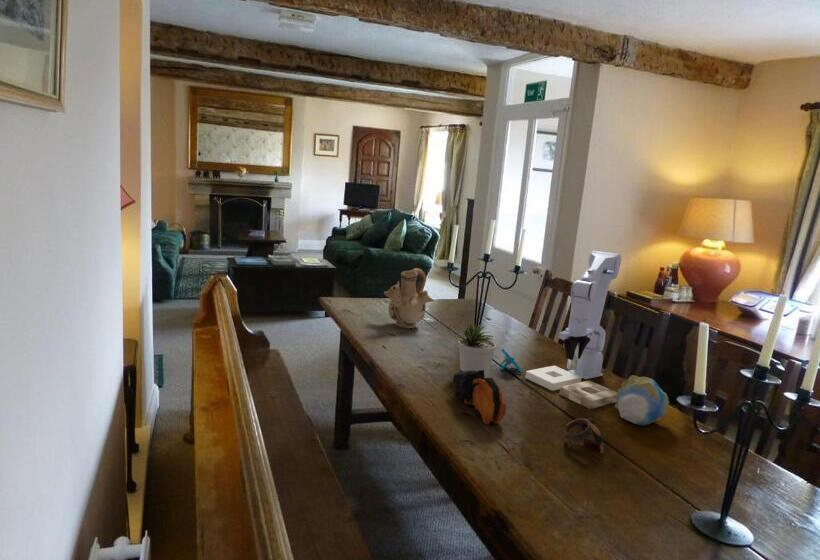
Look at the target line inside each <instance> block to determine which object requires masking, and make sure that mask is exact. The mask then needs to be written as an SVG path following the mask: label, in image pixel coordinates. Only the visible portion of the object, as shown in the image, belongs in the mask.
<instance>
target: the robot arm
mask: <svg viewBox="0 0 820 560" xmlns="http://www.w3.org/2000/svg"><path fill="white" fill-rule="evenodd" d="M621 262H622V255H621V254H620V253H615V252H608V251H599V250H596V249H593V250H592V251H590V254H589V257H588V267H589V268H587V269H585V270H584V271H583V273H582V274H581V276H580V277H579V279H576V281H575V280H574V281H573V282H572V284H571V288H570V303H571V305H570V306H571V307H570V313H569V314H570V315H569V319H568V320H569V321H568V327H566V328H565V330H563V331H560V332H559V333H558V339H561V341H562V343H563V345H564V348H565V350H564V351H565V356H566V359H567V360H568V359H570V360H573V358H574V354H575V350H576V347H577V345H578V343H579V342H580V346H579V353H578V361H577V368H576V370H570V369H568V370H567V371H568V372H571V373H573V374H575V375H578V376H580V377H582V379H584V380H588V379H593V378H598V377H602V376H603V373H602V367H603V361H604V355H603V353H602V352H603V350H604V347H605V342H606V334H607V333H606V330H605V329H604V327H602V326H601V325H600V324H601V319H602V315H603V312H604V308H605V307H604V306H605V303H606V299H607V295H608V291H609V287H610V285H611V282H612V280H615V279H617V278H618V275H619V272H620V267H621Z"/></svg>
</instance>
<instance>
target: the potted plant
mask: <svg viewBox="0 0 820 560" xmlns="http://www.w3.org/2000/svg"><path fill="white" fill-rule="evenodd" d="M466 321H467V322H466V323H467V325H466V329H465V328H464V327H462V326H461V325H459V327H460V328H461V329H462V331H463V335H464V336H465V337H463V336H461V335H459V334H456V336H457V337H458V338H460V339H458V338H457V337H456V338H455V337H454V339H455V340H457V343H458V344H457V345H458V349H459V367H460V370H459V371H461V370H462V372H463V371H471V370H473V371H479V370H484V377H485V378H488V375H489V372H490V369H491V368H490V367H491V364H492V361H493V357H494V354H495V351H496V348H497V343H495V342H494V339H493V335H488V334H485V333H489V334H490V333H492V332H491V331H483V332H482V330H484V328H485V329H486V327H487V325H486V324H485V325H483V323H481V324H479V325H478V326H477V325H476V323H475V324H473V320H471V321H469V320H468V319H466ZM473 325H474V326H473ZM476 326H477V327H476Z"/></svg>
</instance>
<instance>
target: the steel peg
mask: <svg viewBox="0 0 820 560" xmlns="http://www.w3.org/2000/svg"><path fill="white" fill-rule="evenodd" d="M579 346H580V342H579V343H578V345H577V347H576V350H575V354H574V358H573V360H570V359H567V364H566V369H568V370H576V368H577V361H578V353H579Z"/></svg>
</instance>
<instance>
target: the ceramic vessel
mask: <svg viewBox="0 0 820 560" xmlns="http://www.w3.org/2000/svg"><path fill="white" fill-rule="evenodd" d="M418 276H419V282H418V286H417V288H416V285H417V284H416V283H417V280H418V279H417V278H418ZM400 278H401V286H400V281H399V280H397V283H396V284H395V285H394V284H393V286H391V287H390V288H389V290H387V291H386V290H385V291H384V292H383V295H384V296H386V297H387V298H388V299H389V303H388V310H387V311H388V315H389V317H390V318H391V319H392V320H393V321H395V326H396V325H397V327H398V326H399V328H402V327H404V329H410V328H412V329H414V327H415V328H416V326H417V323H419V322H422V320H423V319H424V316H425V313H426V307H427V305H426V304H427V303H431V302H434V301H435V299H434V298H433V297H431V296H430V295H429V293H428V290H424V288H425V285H426V281H427V280H426V279H427V276H426V274H425V272H424V271H423V270H422V269H421V268H417V267H416V268H415V267H414V268H413V269H411V270H404V271H402V272H401V273H400Z"/></svg>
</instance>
